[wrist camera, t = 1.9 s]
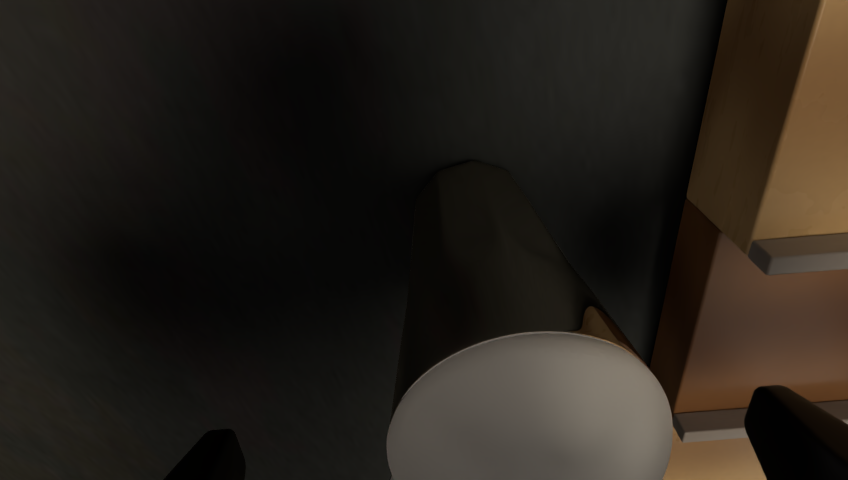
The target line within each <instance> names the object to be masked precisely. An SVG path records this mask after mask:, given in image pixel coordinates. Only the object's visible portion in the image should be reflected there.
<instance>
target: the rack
mask: <svg viewBox="0 0 848 480" xmlns="http://www.w3.org/2000/svg"><path fill="white" fill-rule="evenodd" d="M686 196H687V199H686V200H685V203H684V208H683V213H682V218H681V222H680V227H679V232H678V237H677V241H676V246H675V251H674V255H673V260H672V265H671V270H670V274H669V279H668V284H667V289H666V293H665V298H664V303H663V308H662V312H661V317H660V322H659V327H658V331H657V336H656V341H655V345H654V350H653V355H652V360H651V364H650V370H651V372H652V373H653V375H654V376H655V377H656V378H657V380H658V381H659V383H660V385H661V386H662V388H663V390H664V392H665V394H666V397H667V399H668V402H669V405H670V409H671V414H672V424H673V437H672V448H671V454H670V459H669V463H668V466H667V469H666V472H665V474H664V477H663V479H662V480H767V479H766V476H765V474H764V472H763V470H762V467H761V465H760V463H759V461H758V458H757V456H756V454H755V452H754V449H753V447H752V445H751V443H750V440H749V438H748V436H747V433H746V431H745V426H744V418H745V415H746V412H747V409H748V406H749V403H750V401H751V398H752V395H753V392H754V390H755V389H756V388H758V387H760V386H770V385H782V386H785V387H787V388H789V389H791V390H792V391H794V392H796V393H797V394H799V395H801V396H802V397H804V398H806V399H807V400H809V401H810V402H812V403H814V404H815V405H817V406H819V407H820V408H822V409H824V410H825V411H827V412H828V413H830V414H832V415H833V416H835V417H837V418H838V419H840V420H842V421H843V422H845V423H846V424H848V0H728V1H727V6H726V10H725V15H724V20H723V24H722V29H721V34H720V39H719V43H718V48H717V53H716V58H715V62H714V67H713V72H712V77H711V81H710V86H709V91H708V95H707V100H706V105H705V110H704V114H703V119H702V124H701V129H700V133H699V138H698V143H697V148H696V152H695V157H694V162H693V166H692V171H691V176H690V181H689V185H688V190H687V195H686Z"/></svg>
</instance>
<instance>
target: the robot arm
mask: <svg viewBox="0 0 848 480" xmlns="http://www.w3.org/2000/svg"><path fill="white" fill-rule="evenodd" d="M744 426H745V431H746V433H747V436H748V438H749V440H750V443H751V445H752V447H753V449H754V452H755V454H756V456H757V458H758V461H759V463H760V465H761V467H762V470H763V472H764V474H765V476H766V479H767V480H848V424H846V423H845V422H843V421H842V420H840V419H838V418H837V417H835V416H833V415H832V414H830V413H828V412H827V411H825V410H824V409H822V408H820V407H819V406H817V405H815V404H814V403H812V402H810V401H809V400H807V399H806V398H804V397H802V396H801V395H799V394H797V393H796V392H794V391H792V390H791V389H789V388H787V387H785V386H782V385H770V386H760V387H758V388H756V389H755V390H754V392H753V395H752V398H751V401H750V403H749V406H748V409H747V412H746V415H745V418H744ZM245 469H246V466H245V459H244V456H243V453H242V450H241V447H240V445H239V442H238V439H237V437H236V434H235V432H234V431H233V430H231V429H220V430H211V431H208V432H207V433H205V434H204V435H203V436H202V437H201V439H200V440H199V441H198V442H197V443H196V444H195V445H194V446H193V447H192V449H191V450H190V451H189V452H188V453H187V454H186V455H185V456H184V457H183V458H182V460H181V461H180V462H179V463H178V464H177V465H176V466H175V467H174V468H173V470H172V471H171V472H170V473H169V474H168V475H167V476H166V477H165V478H164V480H244V479H245Z"/></svg>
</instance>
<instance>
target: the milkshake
mask: <svg viewBox="0 0 848 480" xmlns="http://www.w3.org/2000/svg"><path fill="white" fill-rule="evenodd" d="M672 437H673V424H672V414H671V409H670V405H669V402H668V399H667V397H666V394H665V392H664V390H663V388H662V386H661V385H660V383H659V381H658V380H657V378H656V377H655V376H654V375H653V373H652V372H651V370H650V369H649V367H648V366H647V365H646V363H645V362H644V360H643V359H642V358H641V356H640V355H639V354H638V352H637V351H636V350H635V348H634V347H633V345H632V344H631V343H630V341H629V340H628V339H627V337H626V336H625V335H624V333H623V332H622V330H621V329H620V328H619V326H618V325H617V324H616V322H615V321H614V320H613V318H612V317H611V316H610V314H609V313H608V311H607V310H606V309H605V307H604V306H603V305H602V303H601V302H600V301H599V299H598V298H597V297H596V295H595V294H594V293H593V291H592V290H591V289H590V288H589V286H588V285H587V284H586V283H585V281H584V280H583V279H582V278H581V277H580V275H579V274H578V273H577V272H576V270H575V269H574V268H573V267H572V265H571V264H570V263H569V262H568V260H567V259H566V257H565V255H564V254H563V252H562V251H561V249H560V248H559V246H558V245H557V243H556V242H555V240H554V239H553V237H552V236H551V234H550V233H549V231H548V229H547V228H546V226H545V225H544V223H543V222H542V220H541V219H540V217H539V216H538V214H537V213H536V211H535V209H534V208H533V206H532V205H531V203H530V202H529V200H528V199H527V197H526V196H525V195H524V193H523V192H522V190H521V189H520V187H519V186H518V184H517V183H516V181H515V180H514V178H513V177H512V175H511V174H510V173H509V171H507V170H504V169H501V168H497V167H494V166H491V165H487V164H484V163H481V162H478V161H475V160H473V161H470V162H466V163H463V164H460V165H457V166H453V167H450V168H447V169H443V170H440V171H438V172H437V173H436V175H435V176H434V177H433V178H432V180H431V181H430V182H429V183H428V184H427V186H426V187H425V188H424V189H423V191H422V192H421V193H420V194H419V195H418V197H417V198H416V204H415V215H414V227H413V239H412V251H411V263H410V274H409V285H408V295H407V304H406V311H405V318H404V325H403V331H402V338H401V345H400V352H399V359H398V367H397V374H396V381H395V389H394V396H393V403H392V411H391V418H390V426H389V430H388V435H387V458H388V463H389V467H390V471H391V474H392V475H391V477H390V480H662V479H663V477H664V474H665V472H666V469H667V466H668V463H669V459H670V454H671V448H672Z"/></svg>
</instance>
